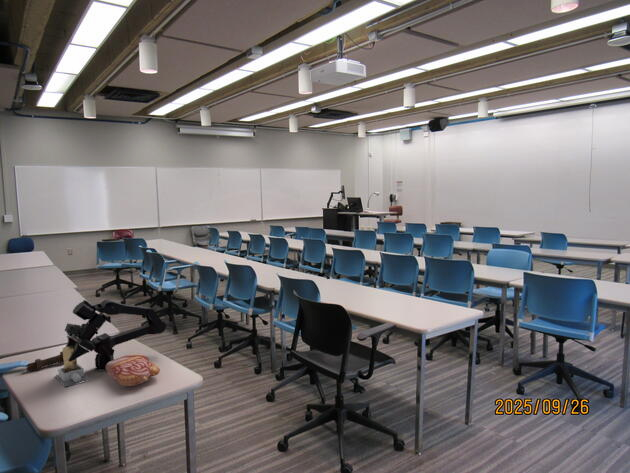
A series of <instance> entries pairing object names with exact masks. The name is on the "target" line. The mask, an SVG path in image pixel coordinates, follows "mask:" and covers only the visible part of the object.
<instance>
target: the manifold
mask: <svg viewBox="0 0 630 473" xmlns="http://www.w3.org/2000/svg"><path fill="white" fill-rule="evenodd" d="M77 366H78V370H75V371H71V372H68V373H65V371H64V366H63V367H61V368H58V370H57V371H58V373H57V374H55V377H56V376H57V377H58V378H57V377H56V378H57V380H58V381H59V380H60V381H61V382H62V383H63V384H64V385H63V384H62V383H61V382H60V381H59V382H60V383H61V384H62V385H63V386H64V387H65V388H67V387H66V386H69V385H72V386H74V385H73V384H76V383H79V382H82V381H86V380H89V381H91V378H90V377H89V376H88V375H87V374H85V371H84V367H83V366H82V365H81V364H79V363H77ZM86 382H87V381H86ZM82 383H83V382H82ZM79 384H80V383H79ZM76 385H77V384H76ZM69 387H70V386H69Z"/></svg>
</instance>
